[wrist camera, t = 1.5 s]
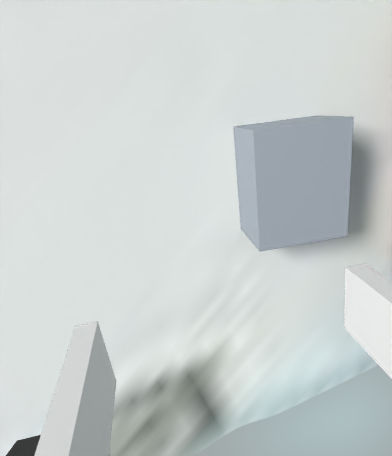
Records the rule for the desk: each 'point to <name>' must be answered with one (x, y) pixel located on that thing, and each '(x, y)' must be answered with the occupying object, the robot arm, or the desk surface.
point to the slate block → (294, 180)
